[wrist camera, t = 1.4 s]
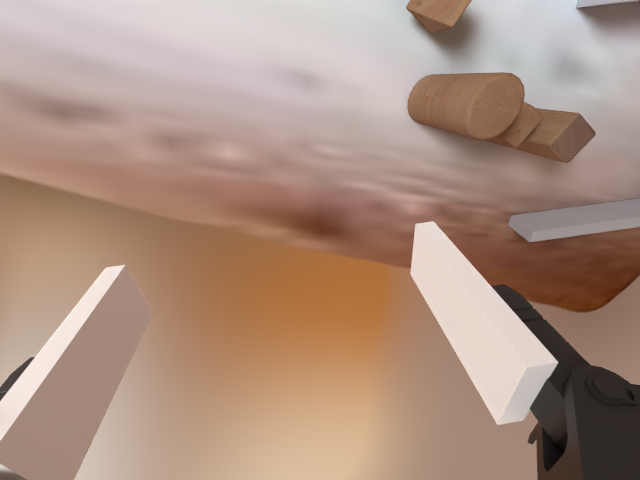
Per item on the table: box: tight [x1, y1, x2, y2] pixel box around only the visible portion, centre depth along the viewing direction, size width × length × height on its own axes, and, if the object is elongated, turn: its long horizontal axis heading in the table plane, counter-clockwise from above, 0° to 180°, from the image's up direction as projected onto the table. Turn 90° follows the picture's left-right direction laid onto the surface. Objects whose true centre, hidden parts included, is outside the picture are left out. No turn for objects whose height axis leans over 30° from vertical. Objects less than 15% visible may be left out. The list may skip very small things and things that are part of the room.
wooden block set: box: [406, 0, 595, 163], centre depth 24 cm, size 18×9×10 cm, turn 56°
